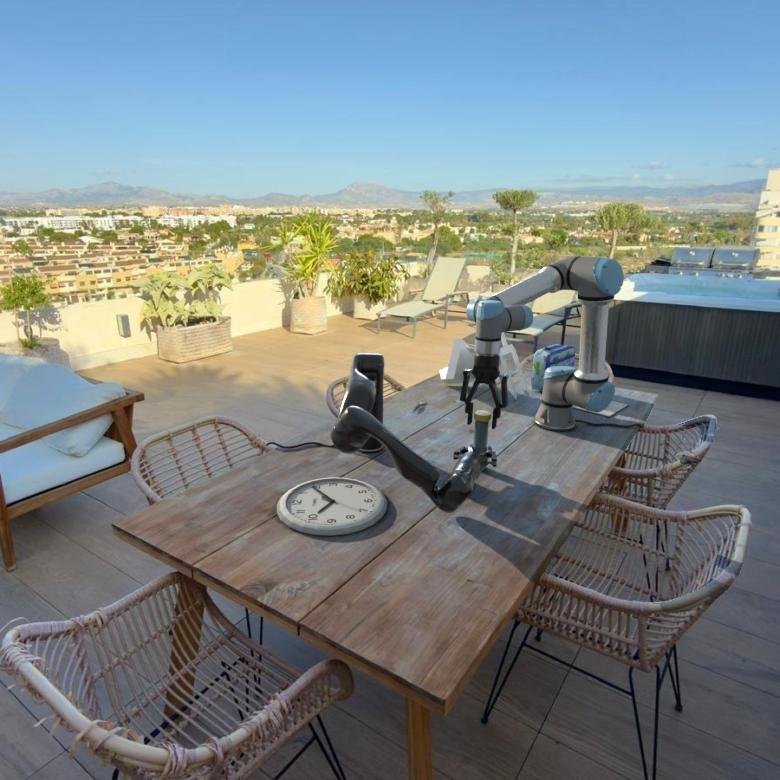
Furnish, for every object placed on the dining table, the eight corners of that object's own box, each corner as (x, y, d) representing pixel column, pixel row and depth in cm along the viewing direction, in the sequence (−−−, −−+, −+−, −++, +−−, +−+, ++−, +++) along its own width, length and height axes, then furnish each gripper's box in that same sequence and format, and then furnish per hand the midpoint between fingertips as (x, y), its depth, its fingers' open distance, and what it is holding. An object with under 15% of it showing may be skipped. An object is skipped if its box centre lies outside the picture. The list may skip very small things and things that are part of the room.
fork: (410, 411, 216) (410, 407, 215) (421, 400, 230) (421, 396, 229) (416, 412, 215) (416, 408, 214) (427, 401, 229) (427, 396, 228)
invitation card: (608, 416, 214) (573, 407, 224) (608, 416, 214) (573, 408, 224) (628, 404, 229) (594, 396, 238) (628, 405, 229) (594, 397, 238)
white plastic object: (461, 429, 252) (437, 405, 227) (444, 352, 274) (420, 323, 250) (535, 404, 240) (518, 377, 215) (510, 326, 262) (492, 293, 237)
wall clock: (392, 527, 129) (268, 531, 127) (391, 533, 130) (269, 537, 127) (383, 473, 158) (282, 475, 155) (383, 478, 158) (282, 480, 156)
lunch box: (547, 396, 238) (552, 351, 232) (526, 391, 246) (531, 347, 239) (574, 385, 256) (579, 343, 250) (554, 380, 263) (559, 340, 257)
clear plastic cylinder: (482, 472, 164) (486, 418, 158) (469, 469, 166) (473, 416, 160) (487, 467, 167) (491, 414, 162) (474, 464, 169) (478, 412, 164)
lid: (470, 417, 162) (470, 411, 162) (482, 414, 165) (483, 409, 164) (481, 422, 158) (482, 416, 158) (494, 419, 161) (494, 413, 160)
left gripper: (444, 475, 156) (459, 454, 171) (491, 485, 151) (503, 461, 166) (445, 452, 154) (461, 432, 169) (493, 461, 148) (505, 440, 164)
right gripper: (523, 354, 154) (516, 427, 161) (459, 347, 163) (455, 416, 170) (517, 360, 148) (510, 435, 155) (451, 352, 156) (447, 423, 163)
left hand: (481, 447), depth 167 cm, fingers closed on clear plastic cylinder, 4 cm apart
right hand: (481, 425), depth 162 cm, fingers open, 7 cm apart
